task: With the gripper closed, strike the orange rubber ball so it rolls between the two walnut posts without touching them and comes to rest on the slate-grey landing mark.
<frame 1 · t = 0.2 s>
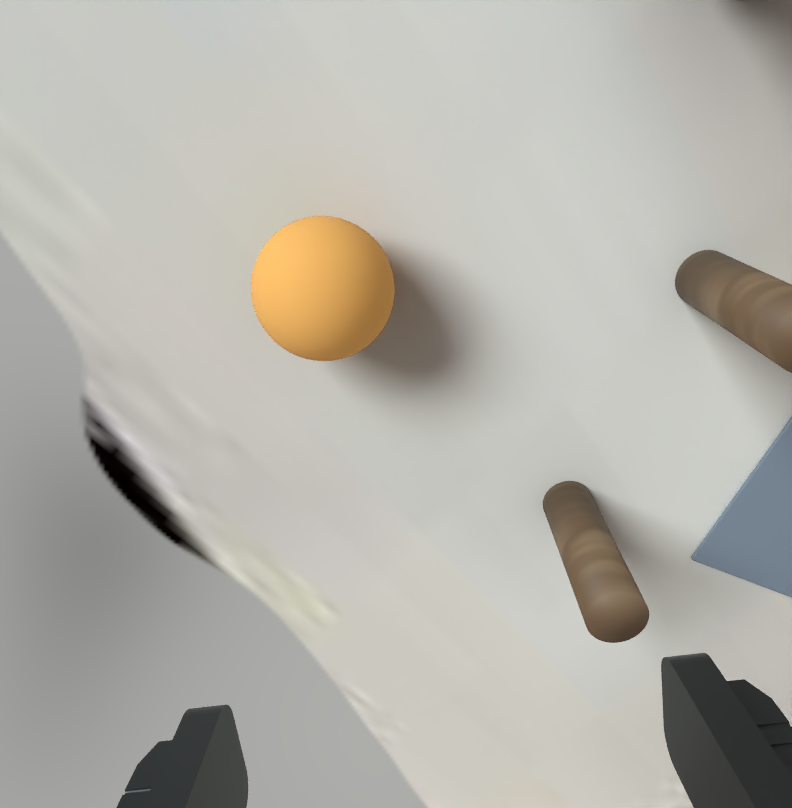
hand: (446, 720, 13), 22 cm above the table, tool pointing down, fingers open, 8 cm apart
post 2: (703, 278, 32), on the table
ball: (323, 289, 29), on the table
post 1: (567, 502, 37), on the table
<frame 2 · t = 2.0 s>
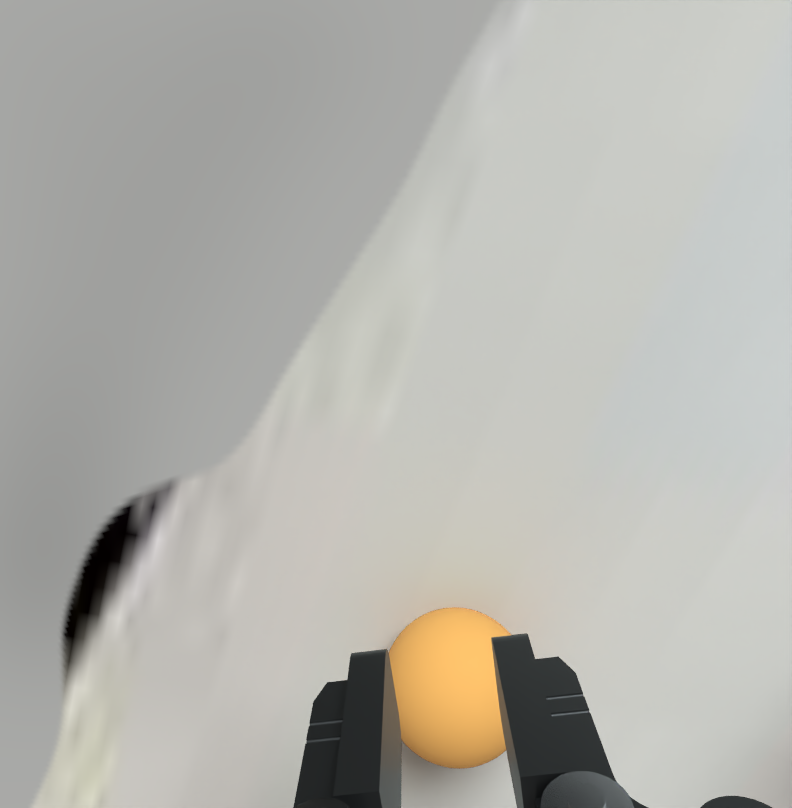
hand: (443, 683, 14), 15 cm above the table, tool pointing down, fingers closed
ball: (456, 684, 28), on the table
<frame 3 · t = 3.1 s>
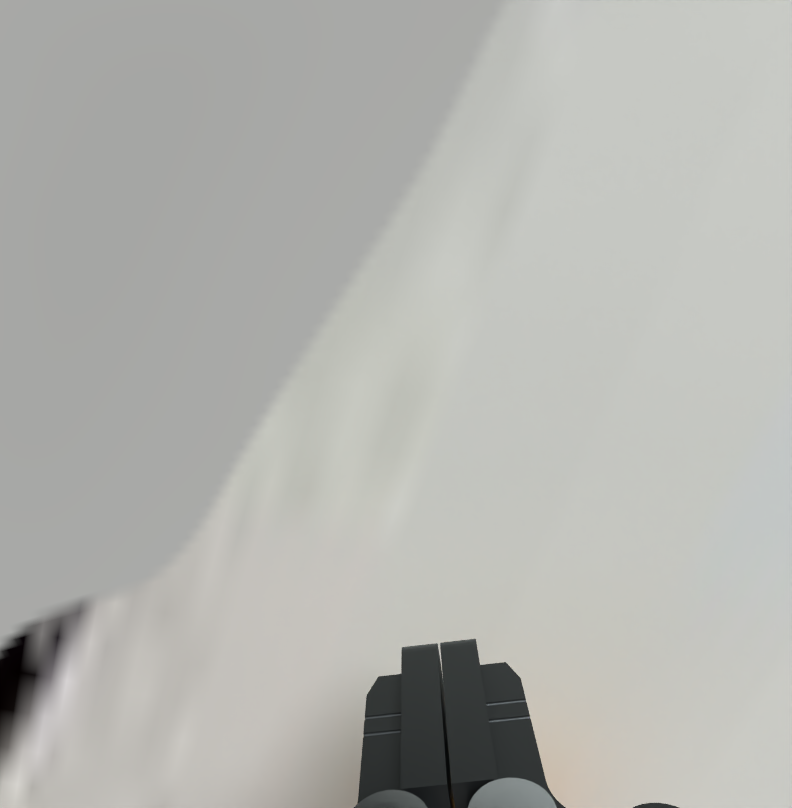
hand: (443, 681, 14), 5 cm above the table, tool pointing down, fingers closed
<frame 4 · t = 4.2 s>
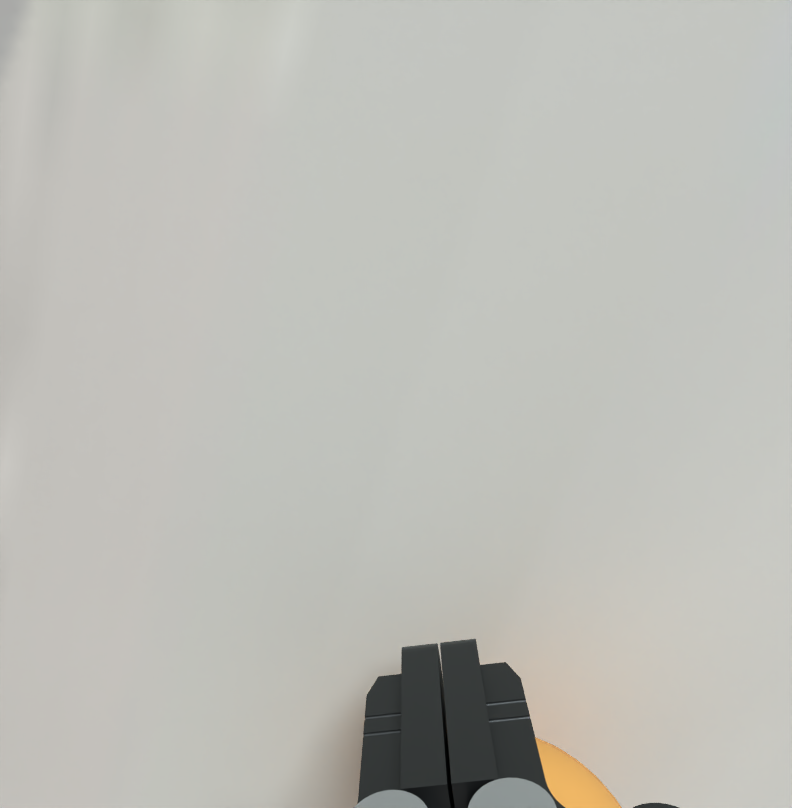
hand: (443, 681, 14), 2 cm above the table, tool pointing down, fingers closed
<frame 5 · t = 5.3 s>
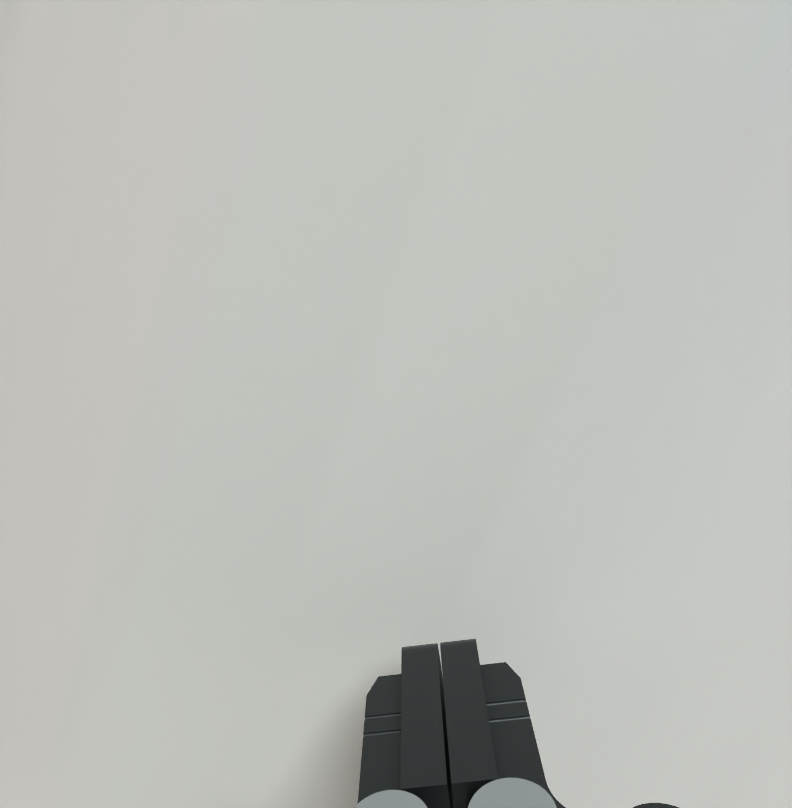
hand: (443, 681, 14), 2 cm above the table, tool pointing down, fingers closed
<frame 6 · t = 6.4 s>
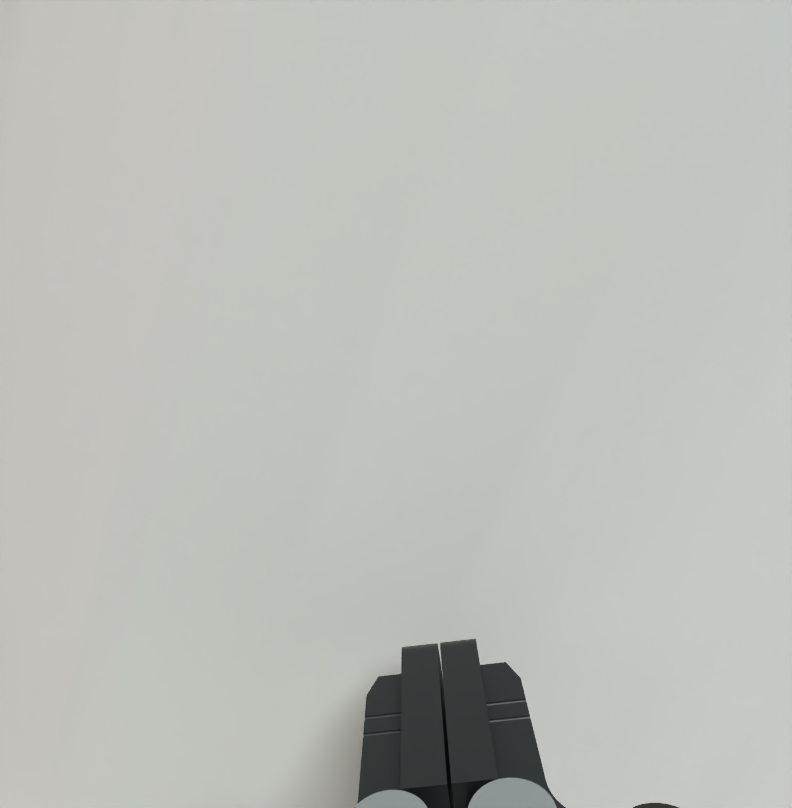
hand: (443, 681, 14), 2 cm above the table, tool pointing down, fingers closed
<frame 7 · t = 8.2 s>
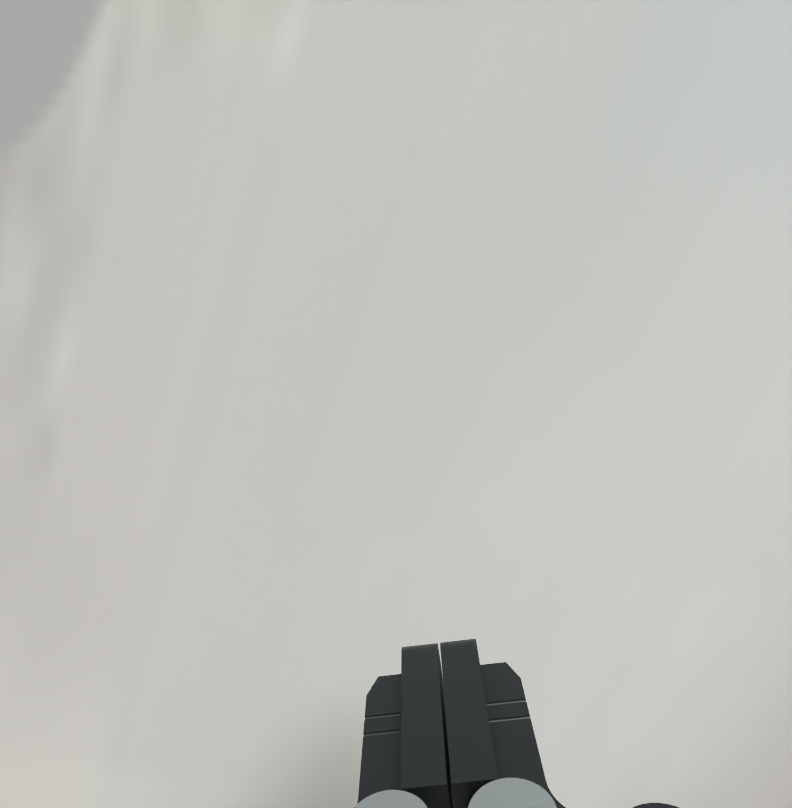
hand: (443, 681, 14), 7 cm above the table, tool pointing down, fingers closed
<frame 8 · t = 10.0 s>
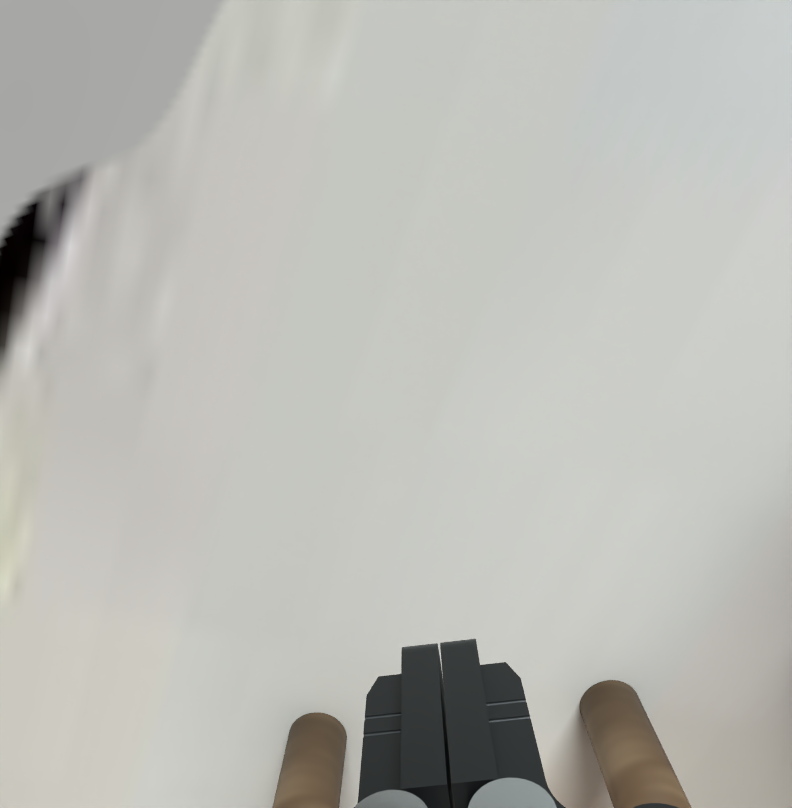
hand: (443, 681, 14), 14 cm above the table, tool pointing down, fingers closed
post 2: (609, 705, 30), on the table
post 1: (317, 736, 31), on the table
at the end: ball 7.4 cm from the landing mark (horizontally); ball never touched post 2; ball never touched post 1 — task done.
